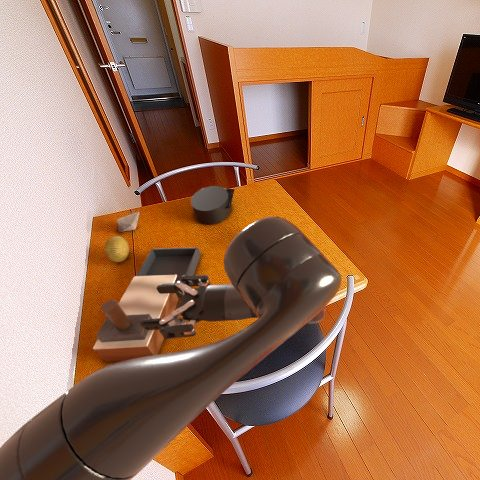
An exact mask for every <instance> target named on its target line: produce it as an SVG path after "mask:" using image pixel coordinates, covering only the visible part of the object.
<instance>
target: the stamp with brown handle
mask: <svg viewBox="0 0 480 480" xmlns="http://www.w3.org/2000/svg"><path fill="white" fill-rule="evenodd" d="M100 310H101V312H102V313H103V314H104V315H105V317H106V318H105V319H104V321H103V323H102V325H101V327H100V329H99V330H98V332H97V334H96V335H95V337H96V339H97V340H98V339H99V340H100V341H101V342H114V341H130V340H145V338H146V336H147V333H148V331H149V330H145V329H144V328H143V327H142V326H141V324H140V322H141V320H142V319H152V317H151V315H150V314H139V315H126V314H125V312H124V311H123V310H122V308H121V307H120V306H119V302H117V300H116V299H109V300H107V301H105V302H103V303H102V305H101V306H100Z"/></svg>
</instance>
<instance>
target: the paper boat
mask: <svg viewBox="0 0 480 480" xmlns="http://www.w3.org/2000/svg"><path fill="white" fill-rule="evenodd" d="M139 217H140V210H139V211H136V212H135V210H134V209H133V210H132V211H131V213H129V214H127V215H124V216H122V217H119V218H116V219H117V220H116V222H117V223H116V224H117V231H118V233H123V232H131V231H135V230H136V229H137V226H138V222H139Z"/></svg>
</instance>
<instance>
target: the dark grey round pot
mask: <svg viewBox="0 0 480 480" xmlns="http://www.w3.org/2000/svg"><path fill="white" fill-rule="evenodd" d="M235 191H236V189H235V188H226V187H222V186H218V185H210V186H205V187H201V189H199V190H197V191H196V192H195V193H194V194H193V195H192V196H191V198H190V199H191V200H190V205H191V207H192V211H193V213H194V214H193V215H194V217H195V219H196V221H197V222H198V223H200V224H202V225H207V226H209V225H216V224H219V223H221V222H223V221H224V220H226V218H228V217H229V215H230V213H231V210H232V202H233V197H234V194H235Z"/></svg>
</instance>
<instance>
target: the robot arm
mask: <svg viewBox="0 0 480 480" xmlns="http://www.w3.org/2000/svg"><path fill="white" fill-rule="evenodd" d="M223 269H224V272H225V274H226V276H227V278H228V280H229V282H230V283H223V284H222V283H221V284H211V281H210V278H209V275H207V274H194V275H183V276H181V280H180V281H178V282H176V283H164V284H161V285H158V286H157V290H158V292H159V293H160V294H168V293H177V292H179V293H181V294H182V297H181V298H180V301H179V302H178V303H179V304H177V308H175V310H174V311H173V312H171V314H170V315H169V316H167V317H165V318H163V319H161V318H153V319H142V320H141V322H140V324H141V326H142V327H143V328H144V329H145V330H159V331H160V333H161V334H162V336H163V338H164V340H171V339H173V340H174V339H181V338H190V337H191V338H192V337H195V336H196V335H197V331H196V327H197V324H198V323H199V322H202V321H204V322H208V323H209V322H211V323H212V322H229V321H231V322H233V321H243V320H244V321H245V320H248V319H256V320H255V321H253V322H252V323H250V324H249V325H247V326H246V327H245V328H243V329H241V330H239V331H238V332H236V333H233V334H232V335H230V336H228V337H225V338H223V339H221V340H218V341H216V342H215V341H214V342H212V343H209V344H205V345H202V346H197V347H193V348H190V349H185V350H184V349H183V350H179V351H173V352H167V353H160V354H159V353H158V355H152V356H146V357H140V358H135V359H130V360H125V361H116V362H115V363H111V364H108V365H106V366H103V367H101V368H98V369H97V370H95V371H93V372H92V373H90V374H88V375H87V376H85V377H84V378H83V379H81V380H79V382H76V384H75V385H73V386H71V388H69V389H68V390H66V391H65V392H64V393H63V394H61V395H60V396H59V397H57V398H56V399H55V400H53V401H52V402H51V403H50V404H48V405H47V406H45V407H44V408H43V409H42V410H41V411H39V412H38V413H36V414H35V415H34V416H33V417H31V418H30V419H29V420H28V421H26V423H24V424H23V425H22V426H21V427H20V428H18V429H17V430H16V431H15V432H14V433H13V434H12V435H11V436H9V438H8V439H6V441H5V442H4V443H3V444H2V445H1V446H0V480H133V479H134V478H135V477H137V475H138V474H139V473H140V472H141V471H142V470H144V468H145V467H147V466H148V464H149V463H151V462H153V460H154V459H155V458H156V457H157V456H158V455H159V454H160V453H161V452H162V451H163V450H164V449H166V447H167V446H168V445H169V444H171V443H172V441H173V440H174V439H176V438H177V437H178V436H179V435H180V434H181V433H182V432H183V431H184V430H185V429H186V428H187V427H188V426H189V425H190V424H191V423H192V422H193V421H195V419H197V417H198V416H200V415H201V414H202V413H203V412H204V411H205V410H206V409H207V408H208V407H209V406H211V404H212V403H213V402H215V400H217V399H218V398H219V397H220V396H221V395H222V394H224V392H226V391H227V390H228V389H229V388H231V387H232V386H233V385H234V384H235V383H236V382H237V381H238V380H240V379H241V378H242V377H244V375H246V374H247V373H248V372H250V370H252V369H253V368H254V367H255V366H257V365H258V364H259V363H260V362H261V361H263V360H264V359H265V358H267V357H268V356H269V355H270V354H272V353H273V352H274V351H275V350H276V349H278V348H279V347H280V346H281V345H282V344H284V342H286V341H287V340H288V339H290V338H291V337H292V336H293V335H295V334H296V333H297V332H298V331H299V330H301V329H302V328H303V327H305V326H306V325H315V324H318V323H320V322H321V321H323V320H324V318H325V316H326V311H327V310H326V306H327V305H328V304H329V303H330V302H331V301H332V300H333V299H334V298H335V296H336V295H337V293H338V292H339V290H340V288H341V285H342V275H341V273H340V272H339V270H338V269H337V267H336V266H335V265H333V263H332V262H331V261H330V260H329V259H328V257H327V256H325V255H324V253H323V252H321V250H320V249H319V248H318V247H317V246H316V245H315V244H314V243H313V242H312V241H311V239H309V238H308V237H307V236H306V235H305V233H304V232H303V231H301V229H300V228H299V227H298V226H296V225H295V224H294V223H293V222H291V221H289V220H288V219H286V218H284V217H281V216H266V217H262V218H260V219H257V220H255V221H254V222H252V223H250V224H249V225H247V226H246V227H244V228H243V229H242V230H241V231H239V232H238V233H237V234H236V235H235V236H234V238H233V239H232V240H231V241H230V243H229V244H228V246H227V248H226V250H225V252H224V256H223ZM189 286H190V287H189ZM193 287H195V288H193ZM179 316H181V317H179ZM169 322H170V323H169Z"/></svg>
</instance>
